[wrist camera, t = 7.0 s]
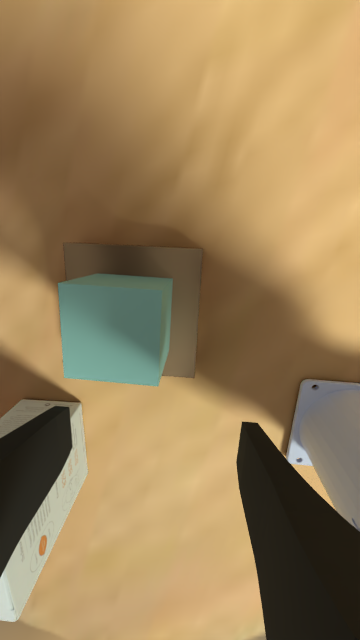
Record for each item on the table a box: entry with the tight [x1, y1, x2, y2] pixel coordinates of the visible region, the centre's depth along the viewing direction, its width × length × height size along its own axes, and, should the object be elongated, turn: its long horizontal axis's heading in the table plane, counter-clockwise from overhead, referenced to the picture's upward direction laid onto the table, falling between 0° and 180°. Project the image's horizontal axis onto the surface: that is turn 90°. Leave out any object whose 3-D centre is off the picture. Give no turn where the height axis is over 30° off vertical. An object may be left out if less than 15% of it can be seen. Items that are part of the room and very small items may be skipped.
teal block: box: [58, 273, 173, 386], centre depth 15 cm, size 5×5×5 cm
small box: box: [0, 399, 88, 622], centre depth 19 cm, size 8×6×10 cm
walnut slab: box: [63, 243, 203, 378], centre depth 19 cm, size 9×9×3 cm
